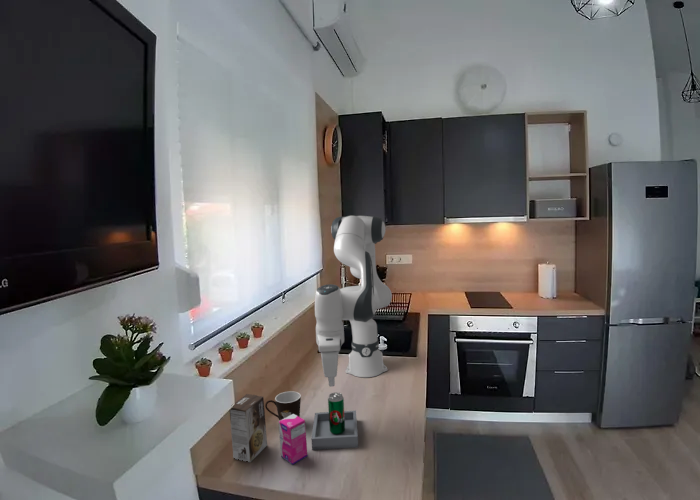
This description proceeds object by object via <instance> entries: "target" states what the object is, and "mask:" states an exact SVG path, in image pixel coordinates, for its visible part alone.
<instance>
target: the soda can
mask: <svg viewBox="0 0 700 500" xmlns="http://www.w3.org/2000/svg"><path fill="white" fill-rule="evenodd" d="M344 398H345V397H344V396H343V393H341V392H331V393H330V394H329V395H328V397H327V405H328V406H327V408H328V412H329V428H330V432H331V433H332V434H336V435H338V434H342V433H343V432H344V431H345V414H344V411H345V399H344Z"/></svg>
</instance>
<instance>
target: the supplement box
mask: <svg viewBox="0 0 700 500" xmlns="http://www.w3.org/2000/svg"><path fill="white" fill-rule="evenodd" d="M306 429H307V428H306V420H305V419H304V418H302V417H298V416H297V415H295V414H292V415H290V416H288V417H286V418H284V419H282V420H280V421H279V420H278V431H279V444H280V445H279V448H280V457H281V458H282V459H284V460H286V461H287V462H288V463H290V464H291V465H294V464H296V463H298V462H300V461H302V460H304V459H305V458H307V457H308V456H309V455H308V446H307V445H308V443H307V442H308V441H307V432H306Z"/></svg>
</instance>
